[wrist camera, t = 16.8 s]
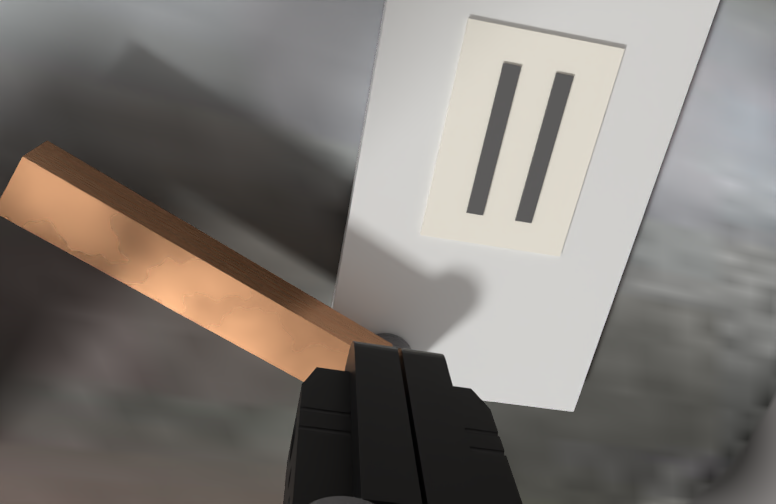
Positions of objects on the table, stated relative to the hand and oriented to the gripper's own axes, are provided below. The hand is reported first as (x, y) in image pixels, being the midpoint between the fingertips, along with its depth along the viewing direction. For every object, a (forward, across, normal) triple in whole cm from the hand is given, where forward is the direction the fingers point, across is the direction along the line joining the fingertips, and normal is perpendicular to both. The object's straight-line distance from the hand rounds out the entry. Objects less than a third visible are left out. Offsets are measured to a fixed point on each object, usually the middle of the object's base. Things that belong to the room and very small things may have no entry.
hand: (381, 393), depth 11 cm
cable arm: (+21, +4, +8) cm, 23 cm away
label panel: (+22, -8, +3) cm, 24 cm away
